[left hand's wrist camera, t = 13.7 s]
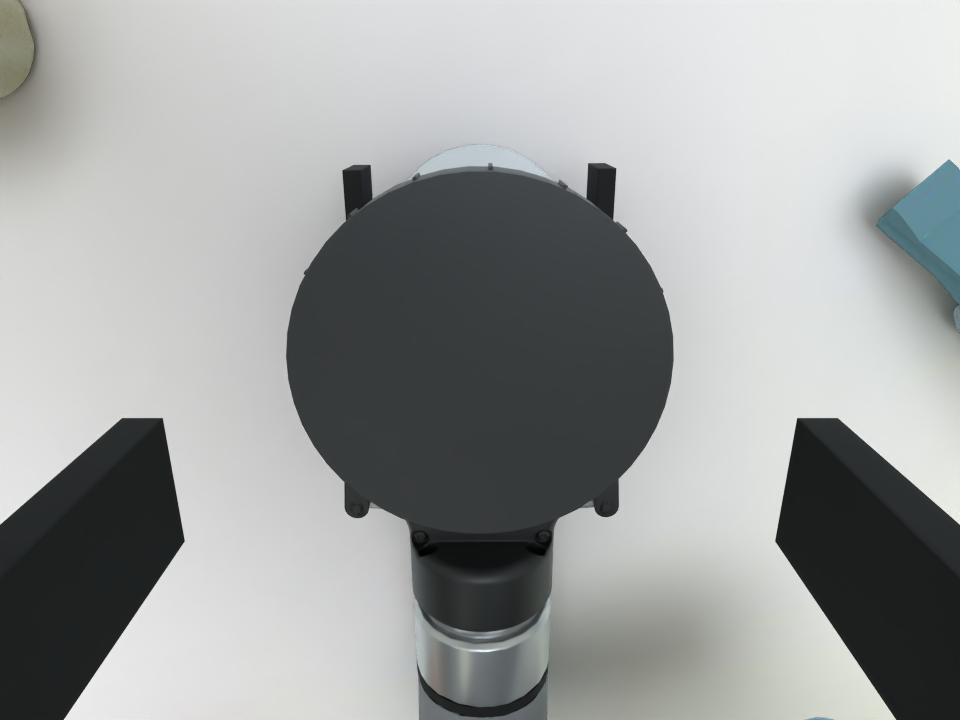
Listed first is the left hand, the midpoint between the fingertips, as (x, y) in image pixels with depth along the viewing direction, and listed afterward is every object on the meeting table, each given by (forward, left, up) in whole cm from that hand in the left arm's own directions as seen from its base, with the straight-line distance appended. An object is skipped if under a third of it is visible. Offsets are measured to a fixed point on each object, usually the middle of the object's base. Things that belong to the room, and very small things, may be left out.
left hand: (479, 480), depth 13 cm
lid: (0, 0, -6) cm, 6 cm away
